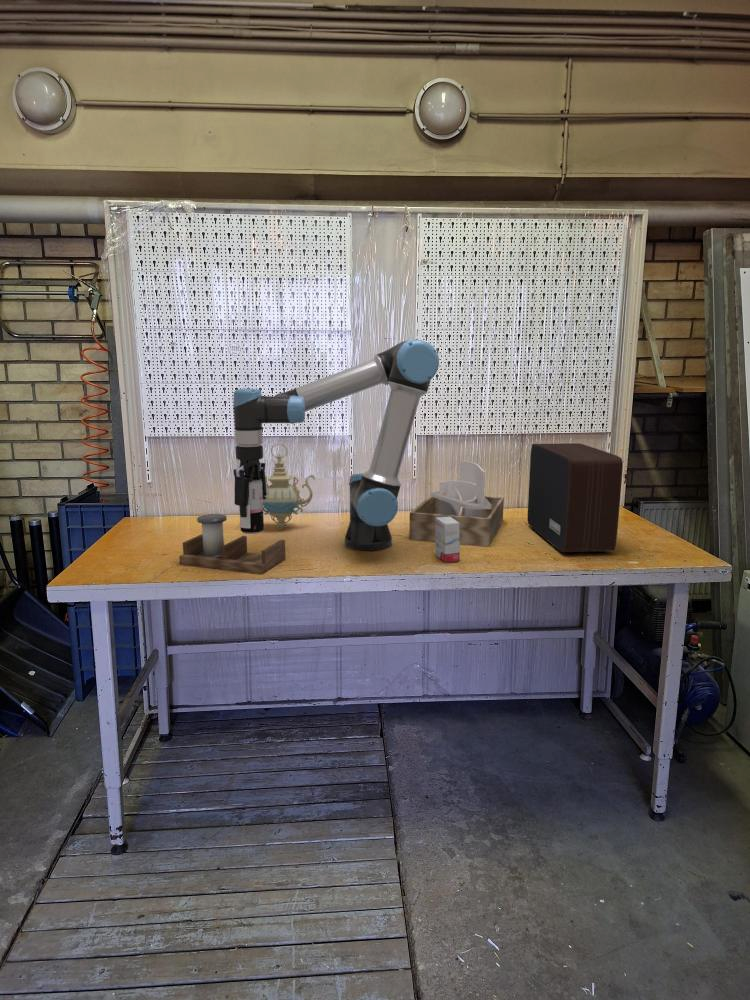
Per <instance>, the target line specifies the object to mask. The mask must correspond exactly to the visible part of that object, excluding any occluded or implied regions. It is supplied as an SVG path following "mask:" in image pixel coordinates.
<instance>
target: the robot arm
mask: <svg viewBox="0 0 750 1000" xmlns="http://www.w3.org/2000/svg"><path fill="white" fill-rule="evenodd" d="M439 366H440V357H439V355H438V351H437V350H436V348H435V347H434V346H433V345H432V344H431V343H429V342H428V341H425V340H422V339H419V338H415V339H414V338H413V339H409V340H404V341H400V342H399V343H398V344H395V345H394V346H392V347H390V348H389V349H386V350H384V351H382V352H380V353H376V354H375V355H374V358H372V359H371V360H368V361H365V362H362V363H359V364H357V365H354V366H352V367H349V368H346V369H344V370H341V371H338V372H336V373H333V374H329V375H328V376H325V377H322V378H319V379H317V380H314V381H311V382H308V383H306V384H303V385H301V386H298V387H295V388H292V389H290V390H287V391H285V392H280V393H278V394H275V395H272V396H267V395H262V391H261V389H259V388H238V389H236V390H234V392H233V405H232V406H233V407H232V408H233V419H234V422H233V423H234V424H233V425H234V436H235V437H234V439H235V444H236V446H235V458H236V459H237V460H238V461H239V466H238V468H234V469H233V477H234V505H235V506H239V518H240V519H239V520H241V525H240V529H241V528H251V525H250V505H248V499H249V482H252V481H253V480H259V479H261V480H262V489H263V500H265V499H266V497H265V496H266V495H267V491H266V479H265V476H266V462H260V460H262V459H263V458H264V446H263V445H262V444H263V443H264V441H263V424H292V425H294V424H301V423H304V422H305V419H306V412H308V411H311V410H313V409H317V408H319V407H322V406H325V405H327V404H330V403H333V402H336V401H338V400H341V399H343V398H347V397H350V396H352V395H355V394H357V393H360V392H362V391H365V390H368V389H370V388H374V387H376V386H379V385H381V384H382V385H384V386H389V387H390V393H389V397H388V401H387V404H386V407H385V410H384V411H385V412H384V415H383V418H382V422H381V426H380V429H379V432H378V437H377V440H376V444H375V448H374V451H373V454H372V458H371V463H370V467H369V469H368V470H367V471H365V472H364V473H353V474H351V475H350V476H349V482H348V486H349V522H348V526H347V529H346V533H345V535H344V546H345V547H346V548H348V549H351V550H355V551H356V550H357V551H370V552H371V551H381V550H385V549H388V548H390V547H391V546H392V545H393V544H392V543H393V538H392V534H391V531H390V527H389V523H391V522H392V521H393V520H394V519H395V517H396V516H397V514H398V511H399V502H398V501H399V500H398V497H399V493H400V489H401V486H402V483H401V481H400V480H399V474H400V471H401V466H402V463H403V459H404V456H405V453H406V449H407V445H408V442H409V438H410V435H411V431H412V428H413V426H414V425H413V424H414V422H415V421H414V420H415V417H416V414H417V411H418V407H419V403H420V400H421V398H422V397H423V396H425V395H426V394H428V391H429V387H430V385H431V380H432V379H433V378H434V377H435V375H436V374H437V372H438V370H439ZM245 478H247V479H245Z"/></svg>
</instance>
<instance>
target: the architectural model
mask: <svg viewBox="0 0 750 1000" xmlns="http://www.w3.org/2000/svg"><path fill="white" fill-rule="evenodd" d="M458 477H459V480H442V481H439V491H432V492H430V496H431V497H434V498H437V499H439V514H440V515H453V516H465V517H478V518H482V509H491V504H490V502H489V501H488V500H487V499H486V498H485V497H484V496H485V488H486V486H485V485H486V482H485V481H486V471H485V470H484V469H483V468H482V467H481V466H480V465H479V464H478V463H475V462H471V461H468V460H465V459H464V460H463V459H460V460H459V476H458Z"/></svg>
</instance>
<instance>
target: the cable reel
mask: <svg viewBox="0 0 750 1000" xmlns="http://www.w3.org/2000/svg"><path fill="white" fill-rule="evenodd" d="M227 520H228V518H227V515H225V514H219V513H210V514H209V513H208V514H204V515H200V516H198V517H197V518H196V522H197V523H199V524H201V534H202V536H203V551H202V552H200V553H199V555H200V556H204V557H213V558H222V554H221V547H222V546H224V545H225V542H224V541H225V540H224V537H225V536H224V524H223V523H224V522H226V521H227Z"/></svg>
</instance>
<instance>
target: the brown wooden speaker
mask: <svg viewBox="0 0 750 1000" xmlns="http://www.w3.org/2000/svg"><path fill="white" fill-rule="evenodd" d="M529 459H530V460H529V461H530V462H529V475H528V476H529V479H528V497H527V524H528V526H530V527H531V528H532V529H533V530H534V531H535V532H536V533H537V534H538V535H540V536H541V537H542V538H543V539H545V540H546V541H547V542H548V543H550V544H551V545H552V546H553V547H554V548H556V549H557V550H558V551H560V552H562V553H578V552H580V553H581V552H582V553H584V552H585V553H586V552H588V553H589V552H615V549H616V545H617V539H618V527H619V516H620V515H619V514H620V506H621V505H620V504H621V493H622V492H621V491H622V483H623V482H622V480H623V479H622V478H623V470H624V469H623V467H624V466H623V465H624V464H623V463H624V462H623V460H622V459H623V458H621V457H620V456H618V455H617V454H613V453H611V452H608V451H605V450H602V449H599V448H595V447H592V446H589V445H586V444H584V443H574V442H573V443H571V442H570V443H569V442H568V443H565V442H564V443H532V445H531V448H530V458H529Z"/></svg>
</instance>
